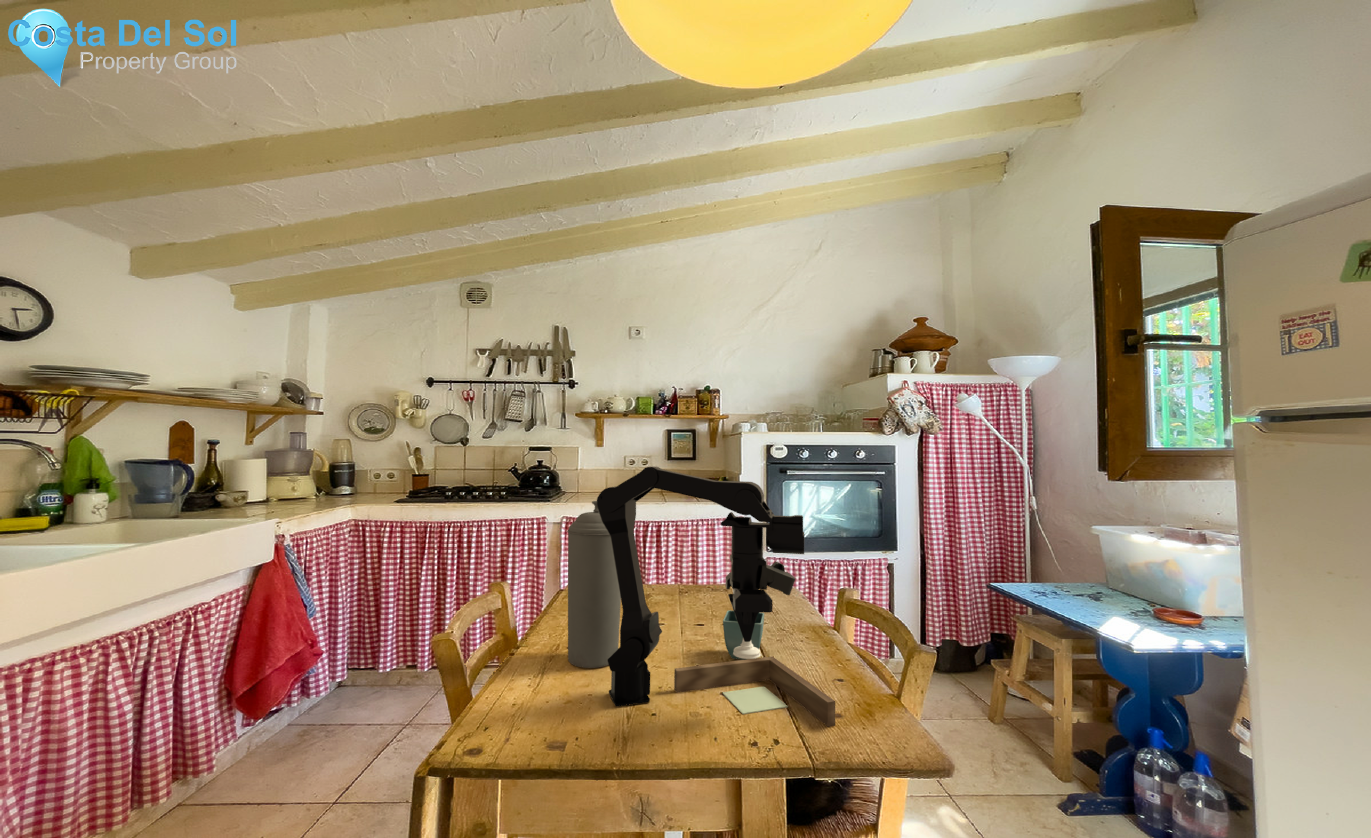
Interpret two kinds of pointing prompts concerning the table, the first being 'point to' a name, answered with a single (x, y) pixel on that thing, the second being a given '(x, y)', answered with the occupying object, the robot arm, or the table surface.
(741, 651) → the chess piece
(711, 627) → the table surface
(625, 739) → the table surface
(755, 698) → the pad
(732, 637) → the flower pot
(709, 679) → the corner wall
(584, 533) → the canister
